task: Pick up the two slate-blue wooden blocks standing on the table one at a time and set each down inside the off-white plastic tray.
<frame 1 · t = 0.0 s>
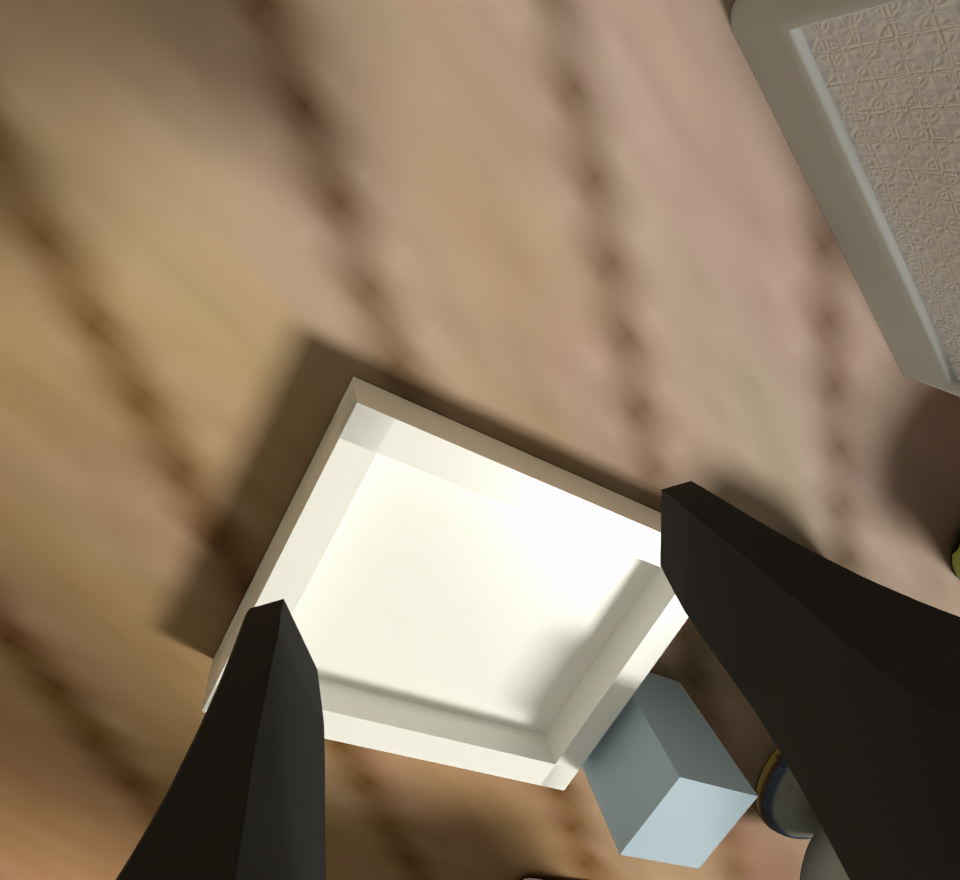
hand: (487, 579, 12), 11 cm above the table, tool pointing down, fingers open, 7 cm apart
apothecary jar: (834, 763, 35), on the table
tray: (465, 590, 25), on the table
block 2: (622, 704, 30), on the table
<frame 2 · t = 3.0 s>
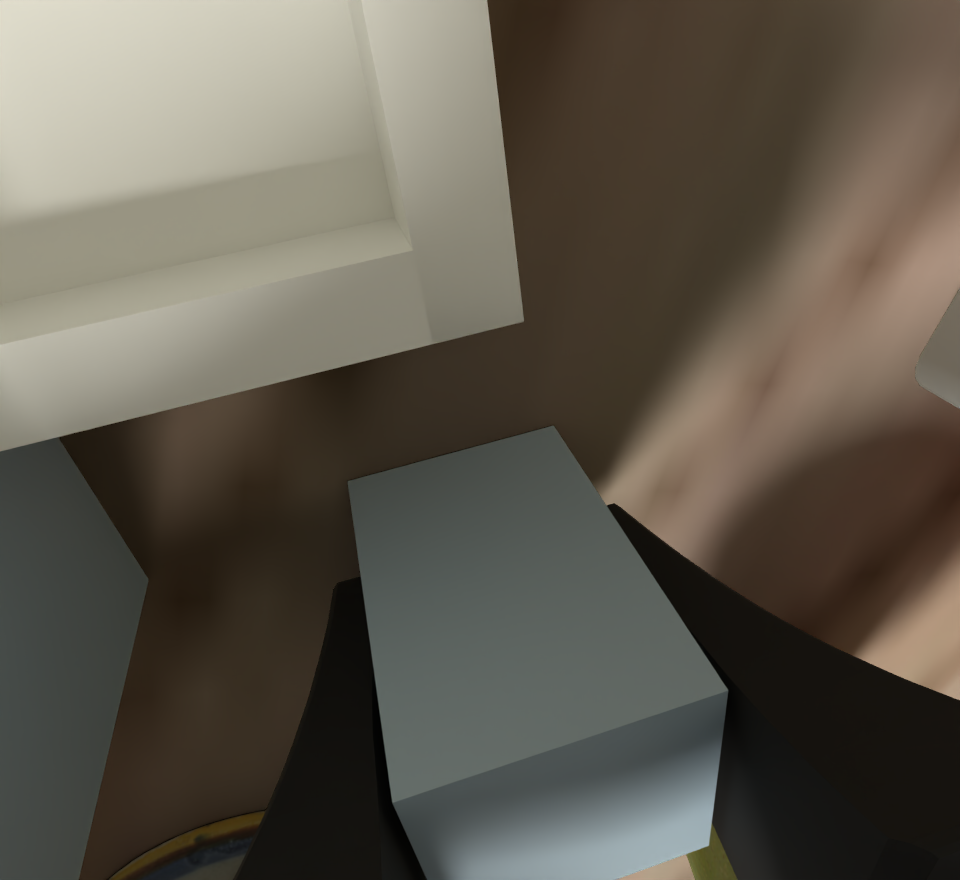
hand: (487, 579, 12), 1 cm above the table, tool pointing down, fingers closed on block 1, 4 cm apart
block 1: (469, 530, 13), on the table, touching gripper
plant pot: (735, 699, 20), on the table
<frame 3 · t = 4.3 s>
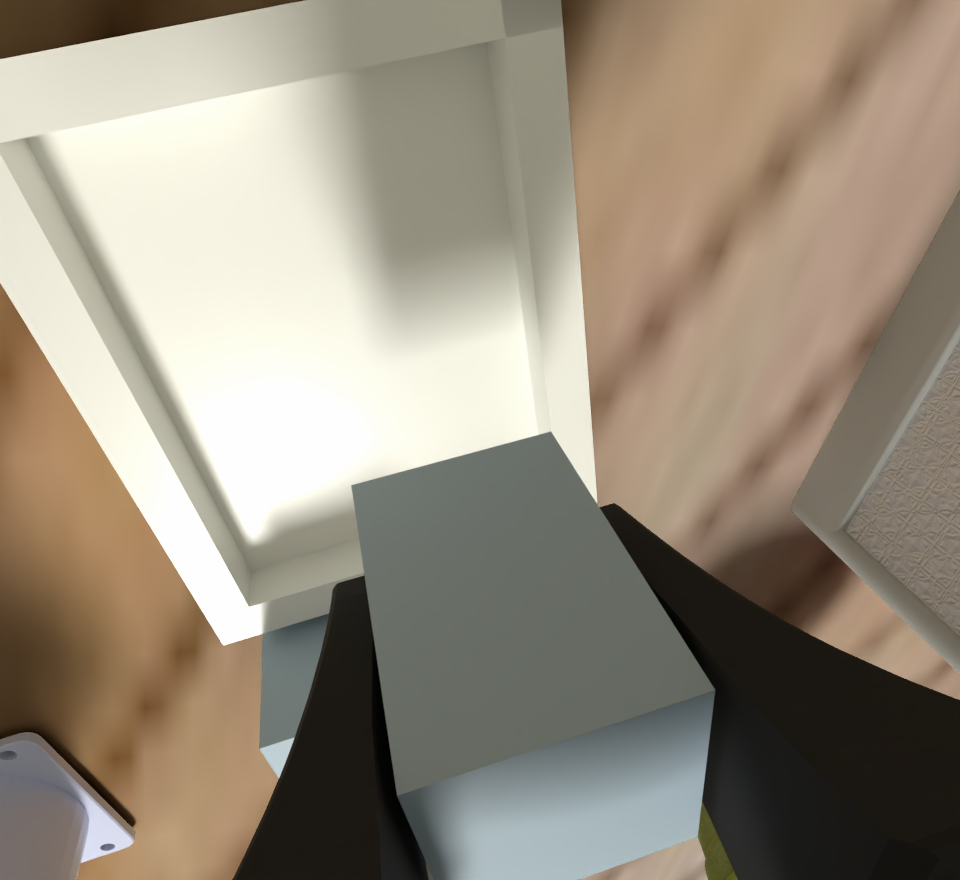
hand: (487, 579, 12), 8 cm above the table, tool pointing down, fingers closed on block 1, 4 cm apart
block 1: (468, 532, 14), point 7 cm above the table, touching gripper
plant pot: (705, 685, 33), on the table
tray: (344, 336, 18), on the table
block 2: (339, 607, 23), on the table
when the fingers open (4 cm above the table, at t = 5.9 s): block 1 drops 1 cm, resting on tray.
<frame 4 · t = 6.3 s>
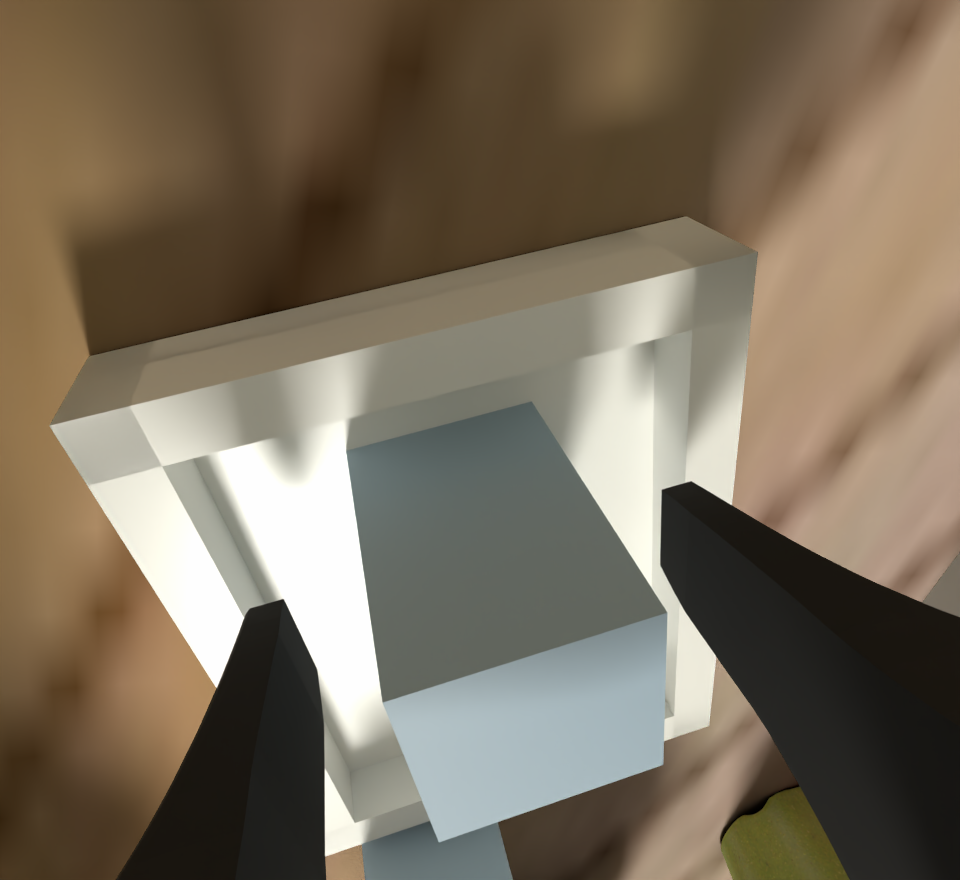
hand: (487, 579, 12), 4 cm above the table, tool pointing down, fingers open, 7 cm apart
block 1: (456, 498, 15), point 1 cm above the table, touching tray
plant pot: (773, 814, 32), on the table
tray: (464, 553, 17), on the table
block 2: (426, 781, 22), on the table
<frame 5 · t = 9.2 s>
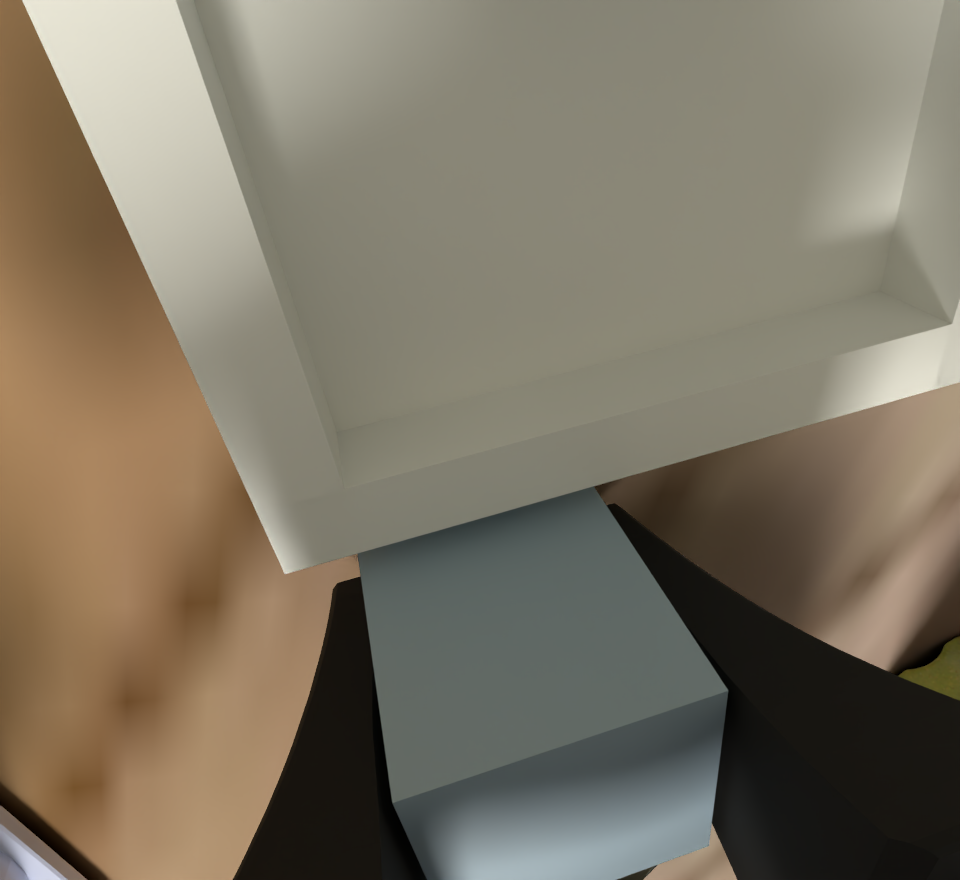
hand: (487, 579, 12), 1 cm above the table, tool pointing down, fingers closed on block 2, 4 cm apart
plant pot: (936, 679, 23), on the table
block 2: (469, 530, 13), on the table, touching gripper
when the fingers open (4 cm above the table, at t = 11.6 s): block 2 drops 1 cm, resting on tray.
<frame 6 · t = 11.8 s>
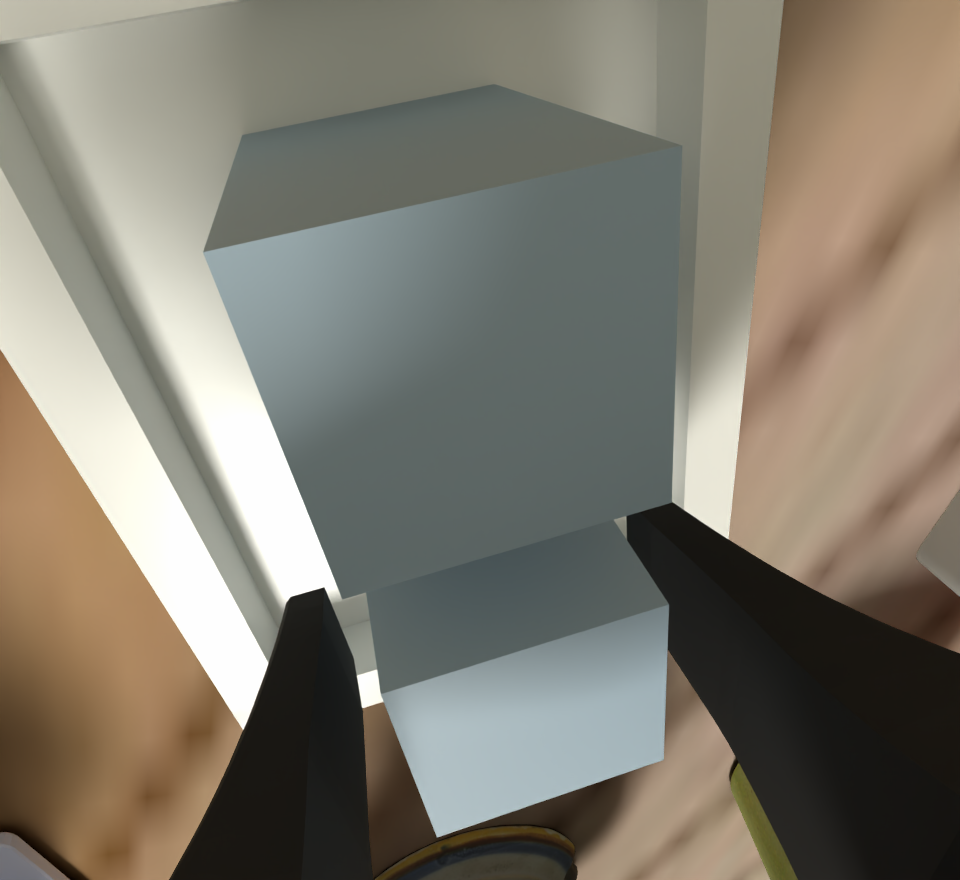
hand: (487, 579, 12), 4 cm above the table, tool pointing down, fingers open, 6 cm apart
block 1: (399, 235, 11), point 1 cm above the table, touching tray
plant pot: (789, 748, 28), on the table
tray: (419, 350, 14), on the table
block 2: (455, 492, 15), point 1 cm above the table, touching tray
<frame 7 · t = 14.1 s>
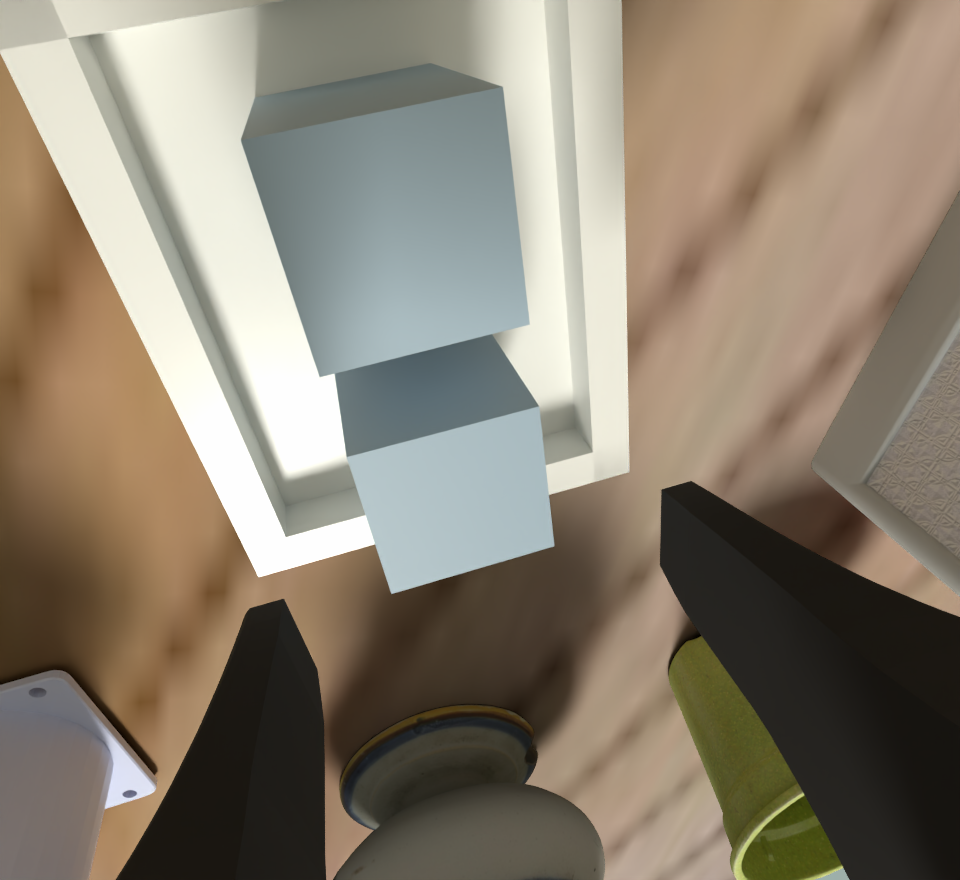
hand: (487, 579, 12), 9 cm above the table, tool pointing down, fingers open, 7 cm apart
block 1: (366, 173, 16), point 1 cm above the table, touching tray
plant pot: (720, 648, 33), on the table
apothecary jar: (440, 764, 32), on the table
tray: (385, 267, 18), on the table
block 2: (415, 380, 19), point 1 cm above the table, touching tray
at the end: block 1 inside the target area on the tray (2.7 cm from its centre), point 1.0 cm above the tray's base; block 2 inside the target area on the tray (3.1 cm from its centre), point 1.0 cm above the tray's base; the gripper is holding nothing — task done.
